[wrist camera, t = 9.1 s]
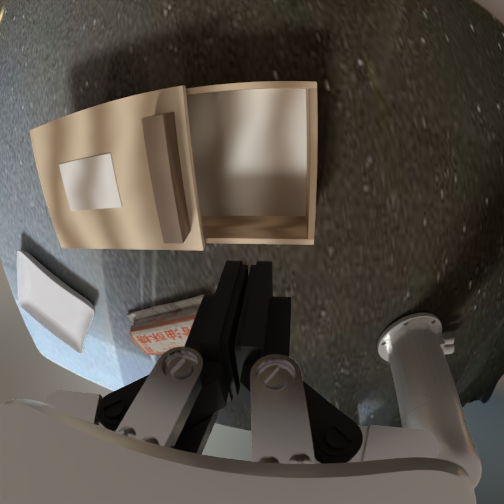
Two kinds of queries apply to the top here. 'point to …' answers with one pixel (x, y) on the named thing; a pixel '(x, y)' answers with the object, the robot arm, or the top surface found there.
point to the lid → (122, 174)
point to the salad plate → (53, 302)
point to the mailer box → (255, 160)
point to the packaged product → (163, 325)
